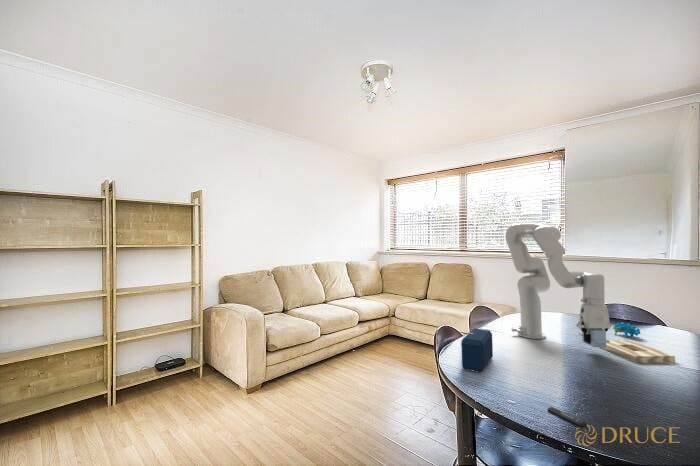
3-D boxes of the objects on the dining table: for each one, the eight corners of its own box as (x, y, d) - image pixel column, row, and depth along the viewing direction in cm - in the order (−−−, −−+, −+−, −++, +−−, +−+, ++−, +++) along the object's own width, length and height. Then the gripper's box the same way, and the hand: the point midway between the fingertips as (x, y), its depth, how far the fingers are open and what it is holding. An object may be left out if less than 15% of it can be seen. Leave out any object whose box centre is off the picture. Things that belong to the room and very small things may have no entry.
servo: (597, 349, 131) (597, 331, 131) (579, 340, 142) (579, 324, 142) (609, 349, 131) (609, 331, 131) (590, 340, 142) (590, 324, 142)
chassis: (635, 362, 126) (634, 356, 126) (596, 346, 146) (596, 340, 146) (675, 362, 125) (674, 355, 125) (631, 345, 145) (631, 340, 145)
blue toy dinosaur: (645, 334, 156) (634, 322, 155) (642, 344, 154) (632, 331, 152) (619, 332, 166) (609, 320, 164) (616, 341, 164) (606, 329, 162)
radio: (472, 354, 138) (471, 309, 139) (493, 358, 133) (492, 311, 134) (459, 370, 121) (457, 319, 122) (483, 375, 116) (481, 322, 117)
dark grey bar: (546, 412, 91) (546, 407, 91) (551, 410, 92) (551, 405, 92) (582, 429, 83) (582, 424, 83) (587, 427, 84) (587, 421, 84)
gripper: (580, 303, 133) (580, 345, 133) (620, 303, 133) (620, 345, 133) (568, 299, 141) (568, 339, 140) (606, 299, 140) (606, 339, 140)
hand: (593, 342), depth 137 cm, fingers closed on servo, 5 cm apart
